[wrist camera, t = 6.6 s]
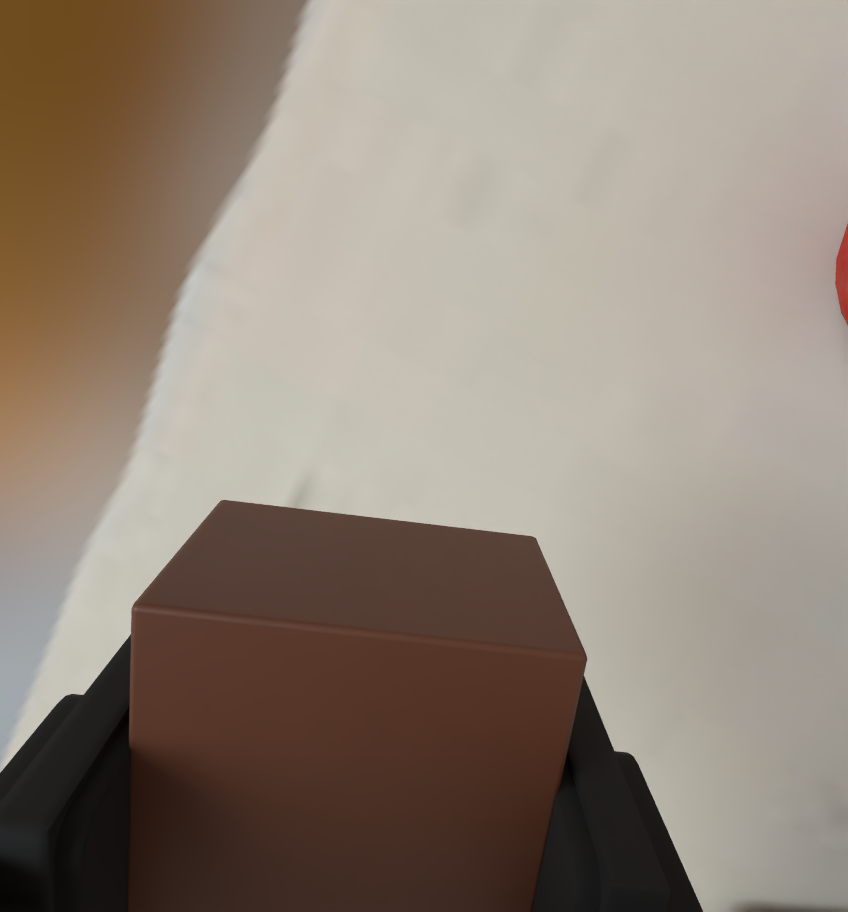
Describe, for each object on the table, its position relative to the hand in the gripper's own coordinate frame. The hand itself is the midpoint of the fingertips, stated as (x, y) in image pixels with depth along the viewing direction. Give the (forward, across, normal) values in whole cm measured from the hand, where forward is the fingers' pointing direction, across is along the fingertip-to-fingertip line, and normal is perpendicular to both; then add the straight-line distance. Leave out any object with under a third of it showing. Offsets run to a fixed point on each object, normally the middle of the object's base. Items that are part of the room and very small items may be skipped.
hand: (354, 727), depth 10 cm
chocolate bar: (0, 0, 0) cm, 0 cm away
